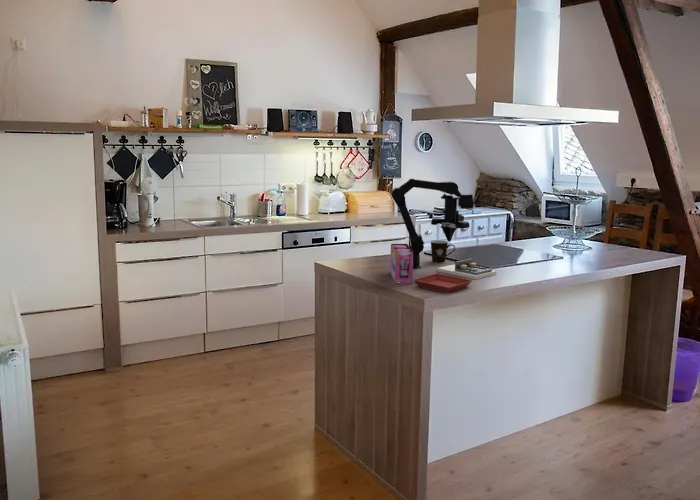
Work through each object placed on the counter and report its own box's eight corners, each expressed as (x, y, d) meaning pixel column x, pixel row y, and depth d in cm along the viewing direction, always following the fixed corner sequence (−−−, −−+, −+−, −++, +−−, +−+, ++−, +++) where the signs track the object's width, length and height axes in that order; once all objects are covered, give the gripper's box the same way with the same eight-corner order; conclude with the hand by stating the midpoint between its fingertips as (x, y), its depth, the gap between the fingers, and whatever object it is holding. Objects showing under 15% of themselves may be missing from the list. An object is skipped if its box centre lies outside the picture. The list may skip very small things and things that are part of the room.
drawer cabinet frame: (476, 274, 278) (476, 265, 278) (454, 270, 287) (455, 261, 286) (492, 271, 286) (492, 262, 286) (470, 266, 295) (470, 258, 294)
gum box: (413, 284, 266) (414, 253, 263) (394, 284, 266) (395, 252, 263) (406, 272, 289) (407, 243, 287) (389, 272, 289) (390, 243, 287)
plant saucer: (472, 287, 263) (472, 279, 263) (448, 295, 250) (449, 287, 249) (436, 280, 275) (436, 273, 274) (412, 287, 262) (412, 279, 261)
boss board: (475, 279, 277) (475, 270, 276) (436, 271, 292) (436, 262, 292) (496, 274, 287) (496, 265, 287) (457, 266, 303) (457, 258, 302)
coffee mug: (427, 261, 314) (428, 242, 312) (433, 259, 321) (434, 239, 320) (449, 264, 309) (450, 244, 307) (455, 261, 316) (456, 241, 314)
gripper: (477, 209, 293) (475, 242, 296) (445, 205, 307) (444, 237, 309) (462, 210, 286) (461, 244, 289) (430, 207, 299) (429, 239, 302)
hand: (449, 241), depth 297 cm, fingers closed
